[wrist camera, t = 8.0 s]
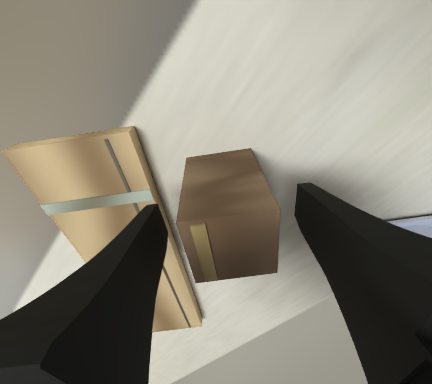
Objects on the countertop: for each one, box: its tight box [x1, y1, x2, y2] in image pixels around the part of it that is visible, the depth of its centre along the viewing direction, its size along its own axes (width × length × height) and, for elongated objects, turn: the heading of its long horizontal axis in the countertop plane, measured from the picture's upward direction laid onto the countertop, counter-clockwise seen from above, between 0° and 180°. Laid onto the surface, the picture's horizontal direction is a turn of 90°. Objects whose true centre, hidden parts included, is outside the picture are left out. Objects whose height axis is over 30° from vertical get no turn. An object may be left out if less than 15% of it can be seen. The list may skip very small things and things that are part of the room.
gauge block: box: [176, 148, 280, 283], centre depth 12 cm, size 4×4×6 cm
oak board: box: [1, 126, 202, 332], centre depth 17 cm, size 7×22×1 cm, turn 8°
